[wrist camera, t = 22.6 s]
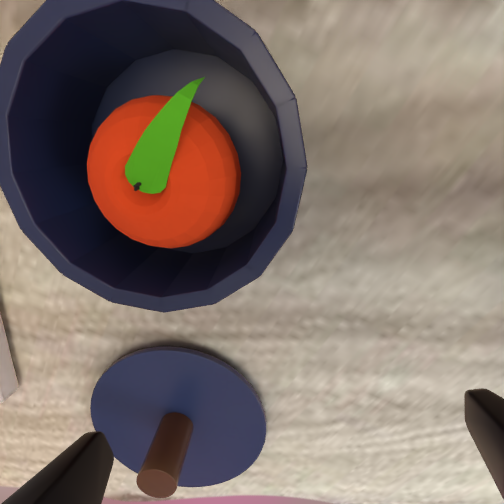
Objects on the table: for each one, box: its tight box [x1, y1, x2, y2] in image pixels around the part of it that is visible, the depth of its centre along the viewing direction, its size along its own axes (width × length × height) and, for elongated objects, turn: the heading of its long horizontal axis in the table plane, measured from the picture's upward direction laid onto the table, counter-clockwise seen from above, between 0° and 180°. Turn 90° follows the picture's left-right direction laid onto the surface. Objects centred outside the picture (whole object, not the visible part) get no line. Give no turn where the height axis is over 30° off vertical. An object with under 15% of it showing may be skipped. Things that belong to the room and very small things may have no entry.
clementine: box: [87, 77, 241, 248], centre depth 15 cm, size 8×7×7 cm
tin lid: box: [91, 346, 266, 498], centre depth 23 cm, size 14×14×6 cm
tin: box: [0, 0, 307, 312], centre depth 16 cm, size 13×13×6 cm
